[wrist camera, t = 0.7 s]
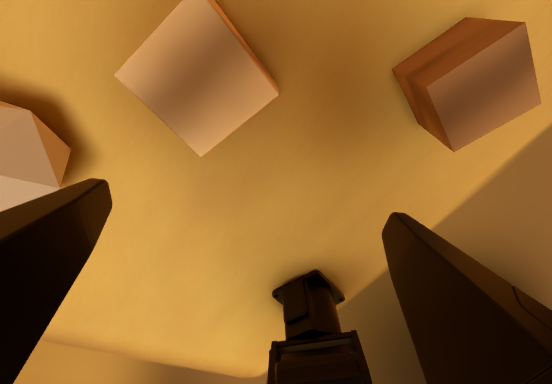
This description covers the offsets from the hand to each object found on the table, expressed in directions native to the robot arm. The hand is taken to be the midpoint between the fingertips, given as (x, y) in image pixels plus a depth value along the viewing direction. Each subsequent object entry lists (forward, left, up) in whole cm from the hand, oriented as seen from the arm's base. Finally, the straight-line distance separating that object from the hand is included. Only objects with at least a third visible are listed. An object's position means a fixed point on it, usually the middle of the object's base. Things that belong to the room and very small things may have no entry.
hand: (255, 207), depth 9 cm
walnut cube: (-7, -11, -14) cm, 19 cm away
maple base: (+3, +2, -14) cm, 14 cm away
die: (+8, +16, -14) cm, 23 cm away
